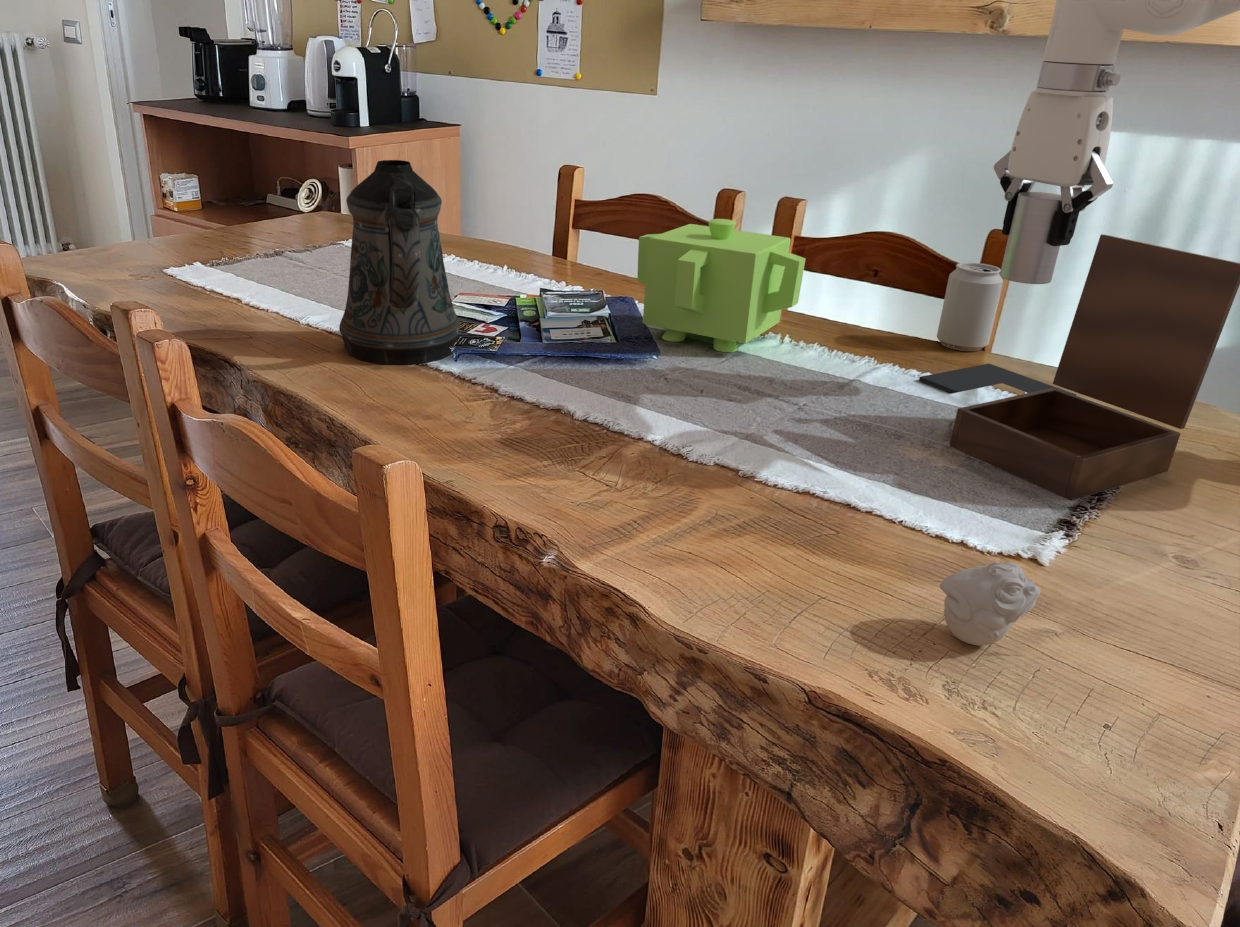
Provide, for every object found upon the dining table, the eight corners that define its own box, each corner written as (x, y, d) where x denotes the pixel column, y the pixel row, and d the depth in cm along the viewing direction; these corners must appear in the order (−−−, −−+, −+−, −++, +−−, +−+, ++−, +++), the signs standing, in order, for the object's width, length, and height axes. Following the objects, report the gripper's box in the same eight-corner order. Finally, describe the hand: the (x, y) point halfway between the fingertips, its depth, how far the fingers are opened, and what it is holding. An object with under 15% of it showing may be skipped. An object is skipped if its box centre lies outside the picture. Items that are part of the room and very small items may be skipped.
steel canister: (1020, 270, 129) (1039, 190, 124) (1061, 281, 124) (1083, 198, 120) (989, 275, 126) (1007, 193, 121) (1030, 286, 121) (1051, 201, 117)
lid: (1243, 264, 99) (1268, 264, 101) (1100, 234, 111) (1125, 235, 113) (1180, 429, 106) (1204, 425, 108) (1052, 384, 118) (1076, 381, 120)
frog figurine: (1022, 672, 75) (1045, 593, 72) (925, 649, 77) (944, 571, 74) (1022, 632, 80) (1044, 556, 77) (932, 611, 82) (949, 537, 79)
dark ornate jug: (415, 324, 151) (410, 150, 140) (496, 356, 139) (497, 168, 127) (318, 343, 141) (304, 157, 130) (396, 380, 128) (388, 178, 117)
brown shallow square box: (1069, 507, 101) (1083, 459, 99) (947, 452, 113) (957, 408, 111) (1165, 477, 109) (1181, 432, 107) (1042, 428, 121) (1053, 387, 119)
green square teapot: (814, 334, 154) (832, 220, 146) (761, 372, 136) (777, 245, 129) (668, 307, 165) (677, 199, 157) (601, 339, 148) (608, 220, 140)
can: (997, 348, 150) (1016, 268, 145) (967, 355, 146) (985, 274, 141) (955, 335, 156) (972, 258, 150) (925, 342, 152) (941, 263, 147)
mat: (987, 367, 142) (988, 363, 142) (1075, 398, 131) (1076, 394, 131) (918, 380, 136) (919, 376, 135) (1004, 414, 125) (1005, 410, 124)
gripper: (1165, 86, 110) (1118, 251, 118) (1030, 75, 123) (996, 224, 131) (1123, 86, 106) (1078, 256, 114) (989, 75, 120) (957, 228, 128)
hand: (1035, 238), depth 123 cm, fingers closed on steel canister, 6 cm apart
